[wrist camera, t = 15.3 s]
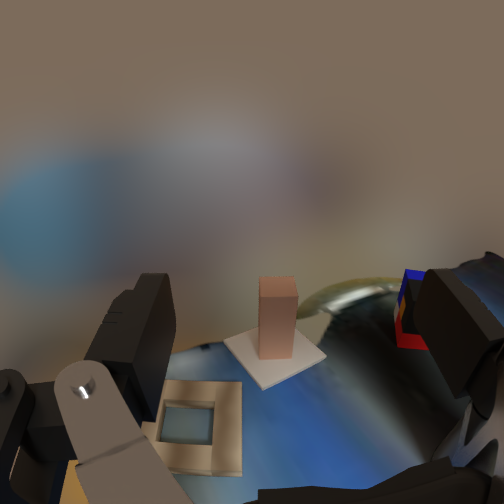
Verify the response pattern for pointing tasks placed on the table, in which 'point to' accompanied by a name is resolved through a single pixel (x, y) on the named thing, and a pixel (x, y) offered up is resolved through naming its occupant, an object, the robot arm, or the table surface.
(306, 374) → the table surface
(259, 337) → the terracotta block
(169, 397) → the puzzle board
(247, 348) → the grey pad
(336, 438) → the table surface
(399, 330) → the puzzle toy
